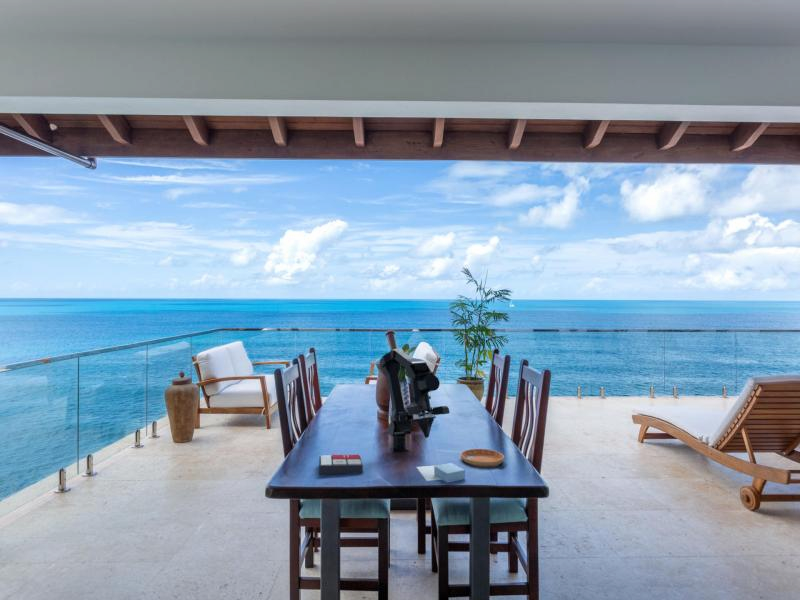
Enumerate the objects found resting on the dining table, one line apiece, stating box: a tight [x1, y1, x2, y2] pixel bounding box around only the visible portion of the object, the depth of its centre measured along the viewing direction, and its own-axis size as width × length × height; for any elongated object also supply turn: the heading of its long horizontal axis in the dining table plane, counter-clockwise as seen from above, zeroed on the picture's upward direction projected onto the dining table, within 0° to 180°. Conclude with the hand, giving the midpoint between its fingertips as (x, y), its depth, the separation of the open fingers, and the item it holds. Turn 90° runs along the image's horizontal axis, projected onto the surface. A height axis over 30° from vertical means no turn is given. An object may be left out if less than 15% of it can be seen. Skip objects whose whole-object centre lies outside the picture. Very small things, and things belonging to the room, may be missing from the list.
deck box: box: [433, 462, 466, 483], centre depth 154 cm, size 3×7×8 cm
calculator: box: [318, 454, 364, 476], centre depth 163 cm, size 11×4×15 cm
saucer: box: [460, 448, 505, 468], centre depth 171 cm, size 16×16×3 cm
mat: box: [416, 464, 443, 482], centre depth 158 cm, size 14×13×1 cm
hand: (426, 437), depth 165 cm, fingers closed
